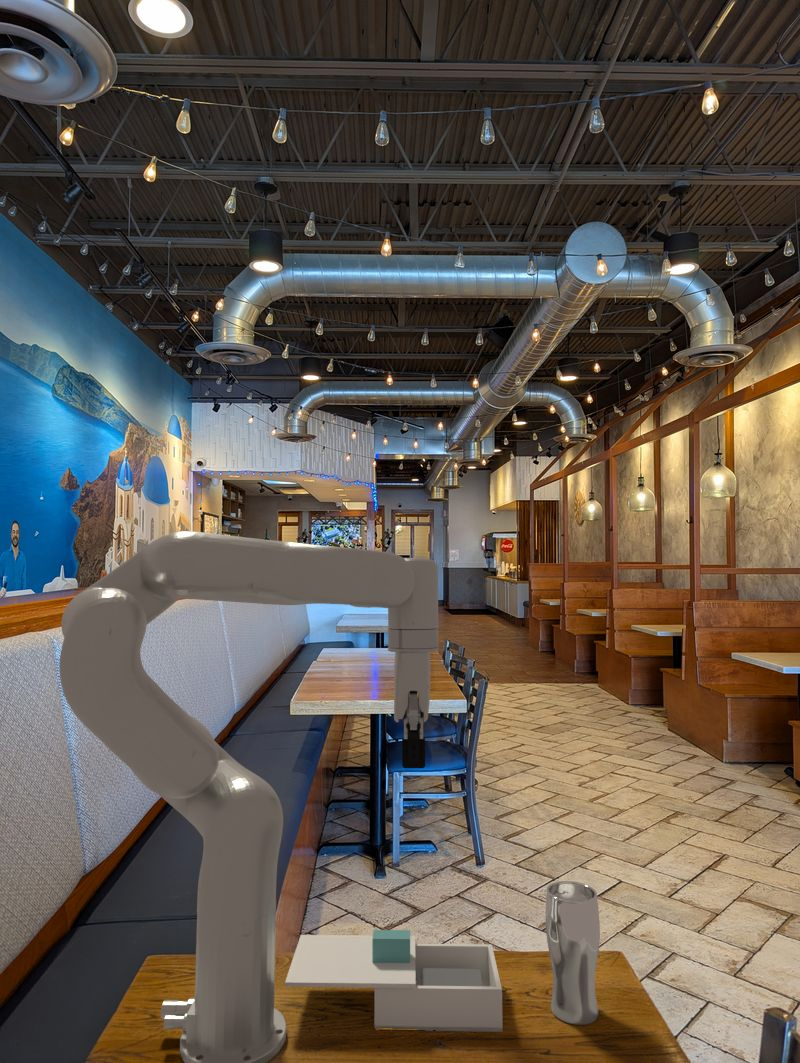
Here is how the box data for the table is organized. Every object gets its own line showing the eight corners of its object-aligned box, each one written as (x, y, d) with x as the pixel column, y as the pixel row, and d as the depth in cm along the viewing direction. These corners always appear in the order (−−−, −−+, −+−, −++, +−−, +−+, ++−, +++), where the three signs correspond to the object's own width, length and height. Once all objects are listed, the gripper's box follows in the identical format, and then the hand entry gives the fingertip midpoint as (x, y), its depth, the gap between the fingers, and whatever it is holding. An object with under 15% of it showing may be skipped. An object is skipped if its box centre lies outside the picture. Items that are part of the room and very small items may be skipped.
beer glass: (610, 1026, 85) (606, 902, 86) (555, 1028, 85) (553, 903, 86) (591, 994, 92) (588, 879, 93) (541, 996, 92) (539, 880, 93)
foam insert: (422, 1014, 87) (422, 993, 87) (421, 987, 93) (421, 968, 93) (484, 1015, 87) (484, 994, 87) (479, 988, 92) (479, 968, 93)
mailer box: (374, 1030, 84) (374, 987, 85) (378, 980, 95) (378, 943, 96) (502, 1031, 84) (502, 989, 84) (492, 981, 95) (491, 944, 95)
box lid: (284, 986, 84) (285, 957, 85) (300, 938, 96) (301, 912, 97) (415, 988, 84) (415, 958, 85) (415, 939, 96) (415, 913, 96)
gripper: (390, 637, 109) (390, 746, 107) (385, 645, 92) (385, 774, 90) (436, 637, 109) (437, 746, 107) (440, 645, 91) (441, 775, 90)
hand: (413, 759), depth 99 cm, fingers open, 9 cm apart
